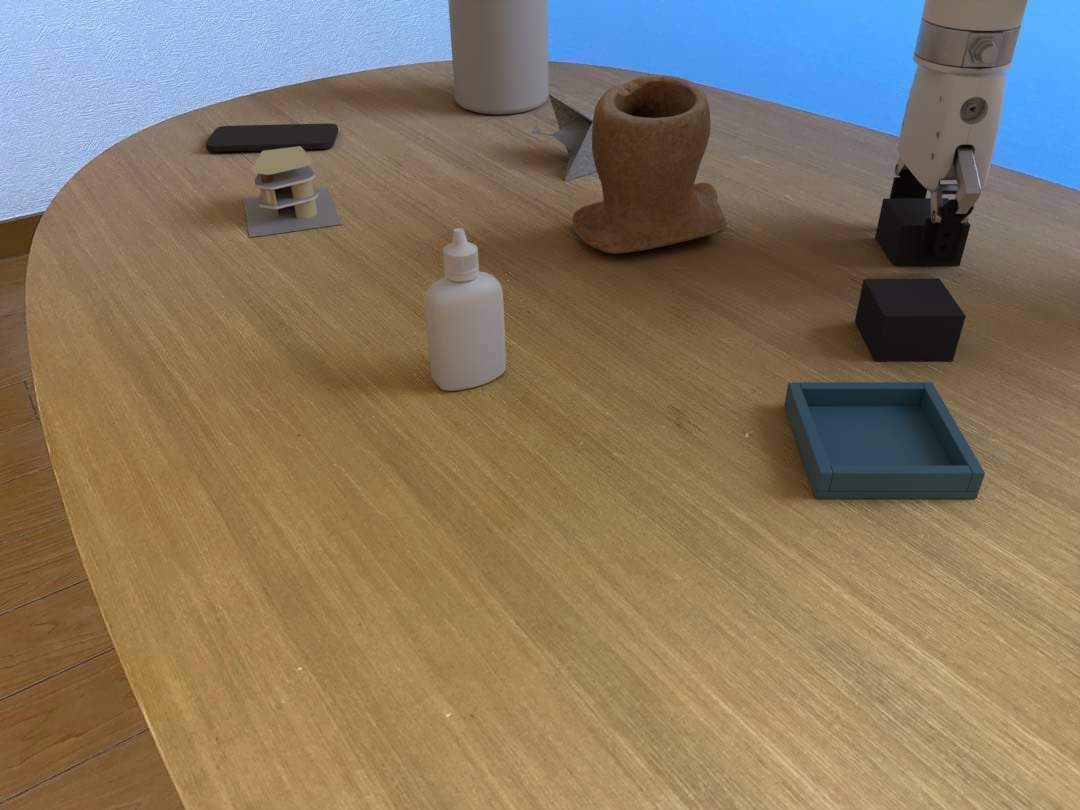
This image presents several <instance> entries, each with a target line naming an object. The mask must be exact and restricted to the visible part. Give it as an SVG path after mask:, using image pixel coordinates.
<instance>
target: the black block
mask: <svg viewBox="0 0 1080 810" xmlns="http://www.w3.org/2000/svg"><path fill="white" fill-rule="evenodd" d="M855 313H856V314H855V319H854V323H855V325H856V327H857V330H858V331H859V333H860V335H861V338H862V339H863V341H864V344H865V346H866V347H867V349H868V351H869V353H870V355H871V357H872V359H873V361H874V362H953V361H954V359H955V356H956V352H957V348H958V345H959V341H960V338H961V335H962V332H963V328H964V324H965V320H966V314H965V312H964V311H963V310H962V308H961V306H959V304H958V302H957V301H956V300H955V298H954V297H953V295H952V294H951V292H950V290H948V289H947V287H946V286H945V284H944V283H943V281H942V280H941V278H939V277H938V278H935V277H931V278H929V277H927V278H925V277H924V278H863V280H862V284H861V290H860V294H859V299H858V304H857V309H856V312H855Z"/></svg>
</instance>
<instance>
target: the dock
mask: <svg viewBox="0 0 1080 810" xmlns="http://www.w3.org/2000/svg"><path fill="white" fill-rule="evenodd" d="M783 406H784V409H785V413H786V416H787V419H788V421H789V424H790V427H791V430H792V434H793V436H794V439H795V442H796V445H797V449H798V451H799V454H800V457H801V460H802V463H803V466H804V469H805V473H806V475H807V478H808V481H809V483H810V487H811V489H812V493H813V496H814V499H869V500H870V499H876V500H877V499H883V500H885V499H891V500H893V499H897V500H898V499H913V500H914V499H921V500H922V499H925V500H927V499H928V500H929V499H932V500H933V499H934V500H935V499H937V500H938V499H939V500H941V499H942V500H943V499H945V500H946V499H949V500H950V499H954V500H958V499H960V500H961V499H969V500H971V499H975V500H976V499H977V498H978V496H979V493H980V490H981V487H982V484H983V481H984V479H985V475H986V472H985V470H984V469H983V467H982V465H981V464H980V461H979V460H978V457H976V455H975V454H974V451H973V450H972V448H971V446H970V444H969V443H968V441H967V440H966V438H965V436H964V434H963V433H962V430H961V429H960V427H959V426H958V424H957V422H956V421H955V419H954V417H953V415H952V414H951V412H950V410H949V409H948V407H947V405H946V403H945V401H944V400H943V398H942V396H941V395H940V393H939V391H938V390H937V387H936V386H935V384H934V382H932V381H922V382H921V381H900V382H899V381H851V382H850V381H845V382H844V381H842V382H841V381H839V382H838V381H836V382H835V381H833V382H832V381H831V382H830V381H827V382H826V381H825V382H824V381H820V382H817V381H813V382H811V381H808V382H806V381H805V382H802V381H801V382H787V388H786V395H785V401H784V405H783Z"/></svg>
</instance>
